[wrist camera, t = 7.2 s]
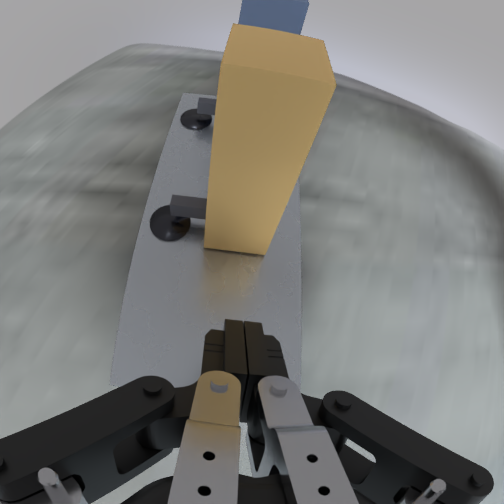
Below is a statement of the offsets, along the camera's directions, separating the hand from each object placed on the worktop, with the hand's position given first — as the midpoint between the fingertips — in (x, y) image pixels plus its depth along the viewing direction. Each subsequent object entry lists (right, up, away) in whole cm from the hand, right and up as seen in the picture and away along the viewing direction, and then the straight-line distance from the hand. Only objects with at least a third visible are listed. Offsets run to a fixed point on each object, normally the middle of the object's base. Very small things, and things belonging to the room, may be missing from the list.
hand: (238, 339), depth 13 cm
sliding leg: (-2, +6, +9) cm, 10 cm away
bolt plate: (-2, +6, +11) cm, 12 cm away
